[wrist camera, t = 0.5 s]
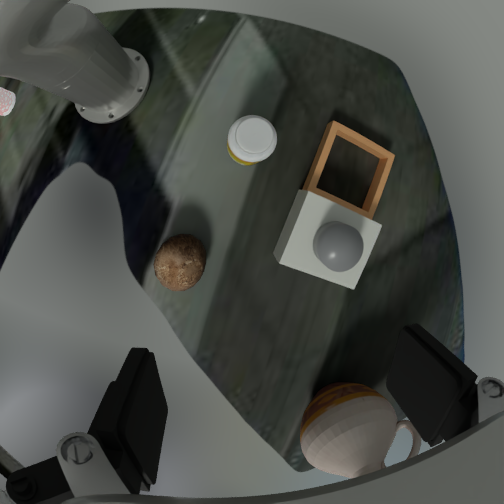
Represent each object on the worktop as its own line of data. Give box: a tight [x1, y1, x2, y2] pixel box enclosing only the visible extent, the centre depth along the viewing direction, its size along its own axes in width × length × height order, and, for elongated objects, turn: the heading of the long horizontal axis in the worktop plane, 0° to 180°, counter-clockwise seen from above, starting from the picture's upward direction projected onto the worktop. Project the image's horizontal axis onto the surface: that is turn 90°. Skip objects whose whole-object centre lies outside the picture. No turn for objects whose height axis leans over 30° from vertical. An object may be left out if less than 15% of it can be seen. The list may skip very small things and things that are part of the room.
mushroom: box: [154, 234, 206, 291], centre depth 38 cm, size 8×8×6 cm
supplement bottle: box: [227, 115, 277, 165], centre depth 32 cm, size 6×6×10 cm
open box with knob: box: [273, 121, 395, 289], centre depth 36 cm, size 12×21×8 cm, turn 159°
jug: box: [300, 382, 421, 478], centre depth 36 cm, size 20×18×30 cm
